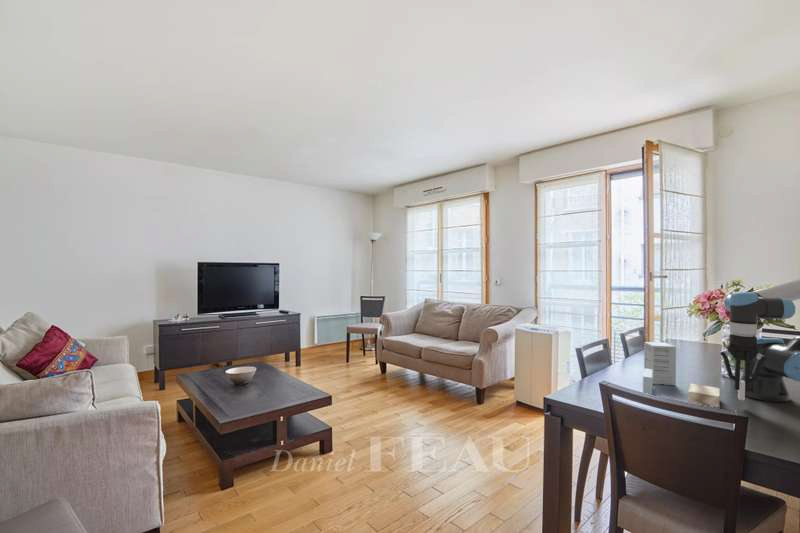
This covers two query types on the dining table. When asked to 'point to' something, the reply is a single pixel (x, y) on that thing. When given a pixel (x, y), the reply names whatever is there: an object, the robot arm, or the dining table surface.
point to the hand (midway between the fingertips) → (741, 399)
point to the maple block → (703, 395)
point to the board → (647, 380)
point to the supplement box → (661, 362)
